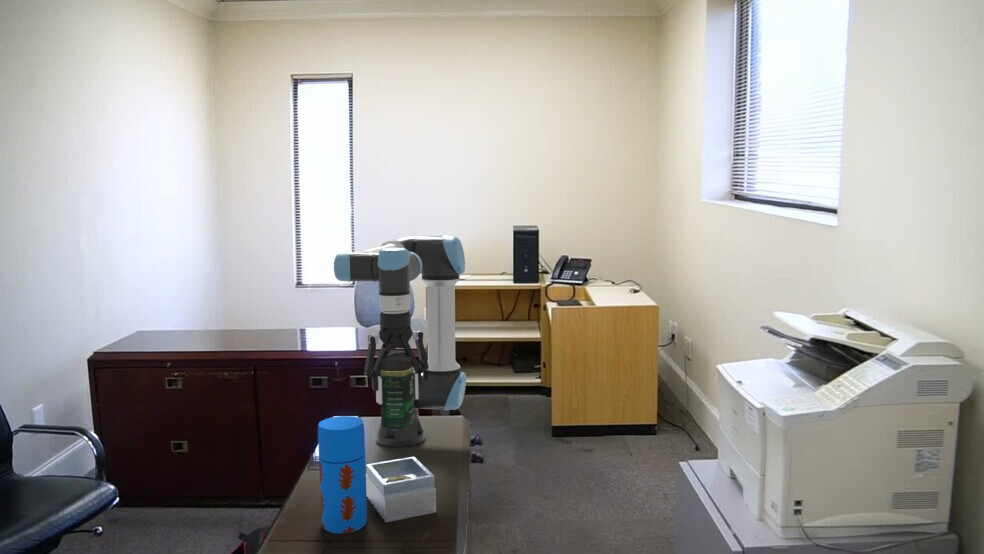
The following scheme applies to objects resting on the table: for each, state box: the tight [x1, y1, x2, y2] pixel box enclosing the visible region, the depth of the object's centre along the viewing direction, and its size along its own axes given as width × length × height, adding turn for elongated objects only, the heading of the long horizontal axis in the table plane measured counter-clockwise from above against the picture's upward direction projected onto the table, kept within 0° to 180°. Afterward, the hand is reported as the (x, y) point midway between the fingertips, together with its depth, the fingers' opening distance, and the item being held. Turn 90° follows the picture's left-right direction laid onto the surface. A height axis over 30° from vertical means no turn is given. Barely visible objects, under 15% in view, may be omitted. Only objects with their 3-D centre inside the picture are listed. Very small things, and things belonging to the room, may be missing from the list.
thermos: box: [317, 415, 368, 534], centre depth 182 cm, size 11×11×25 cm
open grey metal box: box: [366, 456, 437, 523], centre depth 193 cm, size 13×17×9 cm
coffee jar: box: [379, 350, 414, 430], centre depth 190 cm, size 10×8×19 cm
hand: (397, 400), depth 191 cm, fingers closed on coffee jar, 9 cm apart
